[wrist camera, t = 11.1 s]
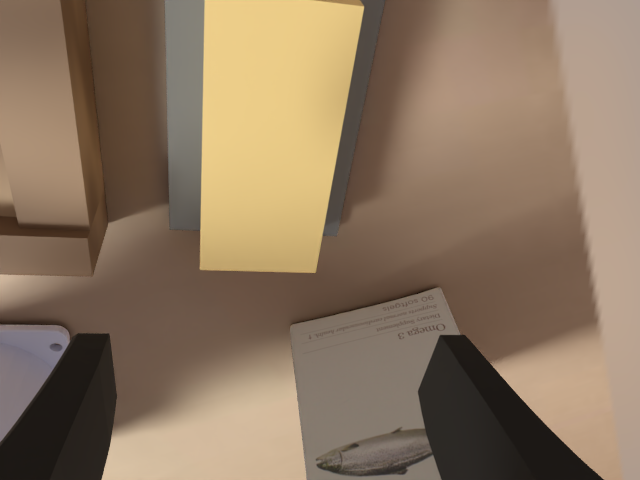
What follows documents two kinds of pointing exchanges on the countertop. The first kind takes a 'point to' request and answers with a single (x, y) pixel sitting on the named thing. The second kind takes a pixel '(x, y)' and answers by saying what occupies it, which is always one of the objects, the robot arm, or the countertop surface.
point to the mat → (188, 110)
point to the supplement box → (368, 388)
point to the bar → (272, 128)
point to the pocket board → (48, 142)
